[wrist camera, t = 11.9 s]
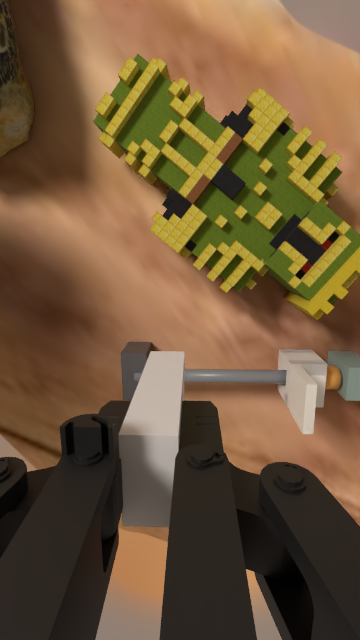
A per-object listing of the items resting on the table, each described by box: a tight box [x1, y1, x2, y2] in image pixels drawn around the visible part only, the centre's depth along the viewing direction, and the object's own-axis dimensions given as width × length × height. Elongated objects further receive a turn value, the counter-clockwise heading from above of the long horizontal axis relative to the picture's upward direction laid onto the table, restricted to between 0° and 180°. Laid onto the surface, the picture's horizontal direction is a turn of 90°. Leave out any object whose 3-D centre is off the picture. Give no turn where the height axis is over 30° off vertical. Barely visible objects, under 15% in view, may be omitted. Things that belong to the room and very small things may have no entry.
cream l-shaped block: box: [277, 349, 327, 434], centre depth 37 cm, size 4×5×11 cm
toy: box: [93, 54, 360, 320], centre depth 36 cm, size 17×10×30 cm
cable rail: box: [121, 342, 360, 401], centre depth 41 cm, size 29×6×6 cm, turn 90°
